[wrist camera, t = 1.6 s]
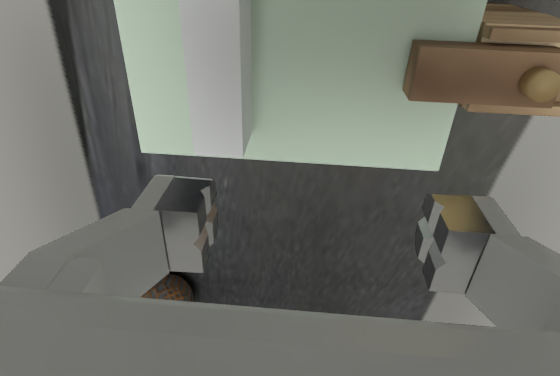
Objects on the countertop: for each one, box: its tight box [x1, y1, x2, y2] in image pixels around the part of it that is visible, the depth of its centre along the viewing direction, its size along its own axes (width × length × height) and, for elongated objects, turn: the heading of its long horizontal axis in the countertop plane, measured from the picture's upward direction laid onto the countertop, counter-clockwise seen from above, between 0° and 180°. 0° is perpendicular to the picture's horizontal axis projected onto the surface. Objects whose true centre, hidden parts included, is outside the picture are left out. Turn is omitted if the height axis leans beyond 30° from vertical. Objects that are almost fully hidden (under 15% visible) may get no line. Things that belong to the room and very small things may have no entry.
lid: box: [114, 0, 488, 171], centre depth 22 cm, size 14×21×5 cm
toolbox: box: [459, 3, 560, 117], centre depth 28 cm, size 14×28×12 cm, turn 88°
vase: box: [140, 274, 193, 302], centre depth 48 cm, size 7×7×9 cm
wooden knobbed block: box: [402, 39, 560, 109], centre depth 21 cm, size 3×8×3 cm, turn 88°
